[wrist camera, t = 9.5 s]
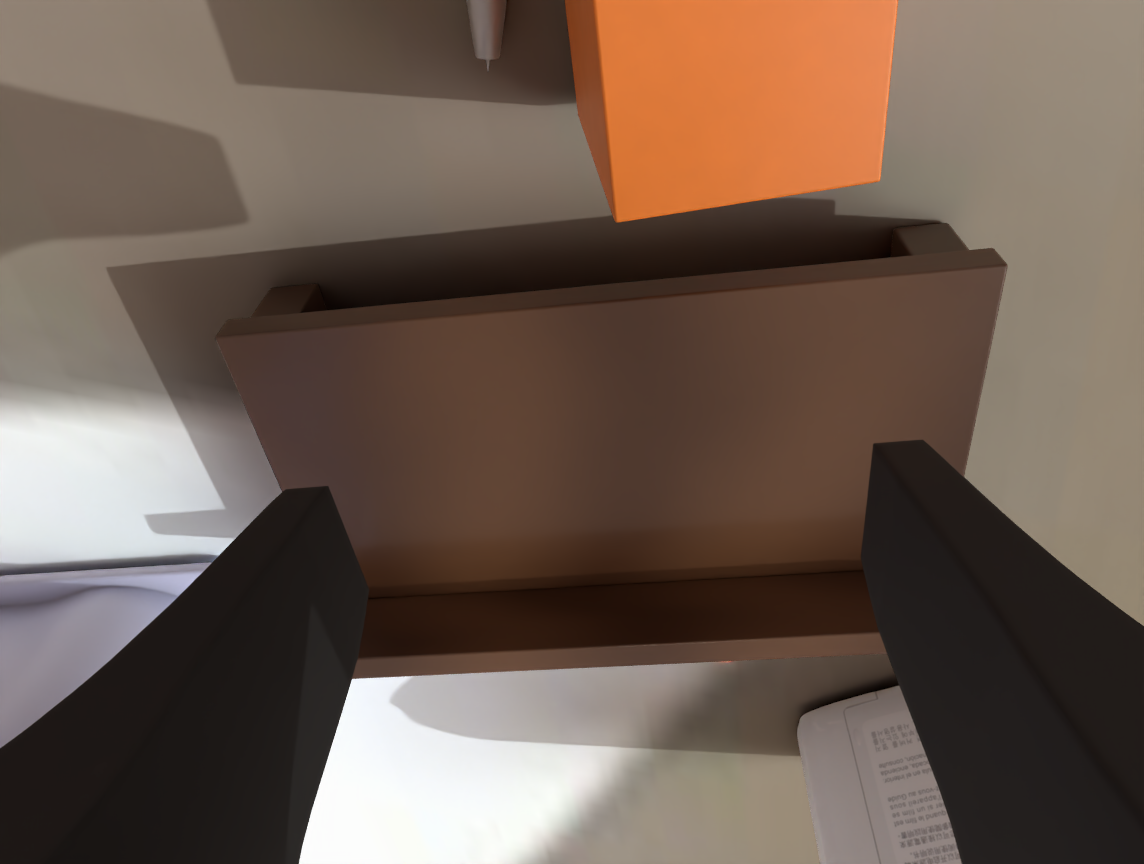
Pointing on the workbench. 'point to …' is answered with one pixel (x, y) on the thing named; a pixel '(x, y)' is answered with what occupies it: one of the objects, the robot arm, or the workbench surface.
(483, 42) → the toy airplane
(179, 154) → the workbench surface
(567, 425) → the shelf
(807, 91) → the packet
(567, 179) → the workbench surface
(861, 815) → the white boxy piece
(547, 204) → the workbench surface
